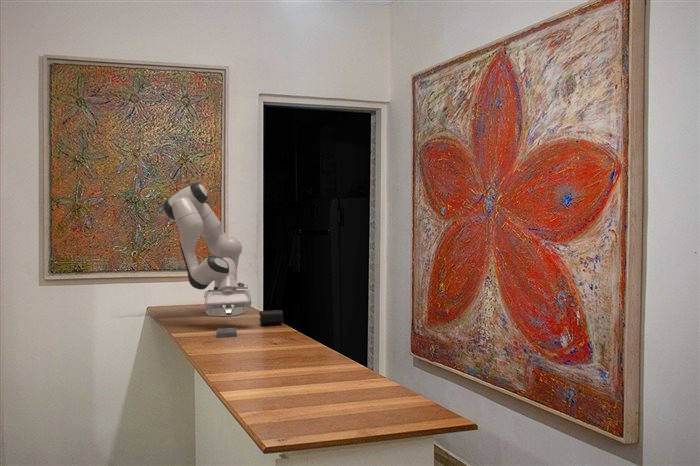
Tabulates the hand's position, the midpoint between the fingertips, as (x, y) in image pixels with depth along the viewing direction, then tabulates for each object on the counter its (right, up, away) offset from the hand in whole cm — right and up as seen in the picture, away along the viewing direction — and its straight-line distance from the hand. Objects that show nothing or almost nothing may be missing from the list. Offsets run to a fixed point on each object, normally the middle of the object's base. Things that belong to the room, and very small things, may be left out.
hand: (228, 314), depth 319 cm
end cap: (+17, -7, +13) cm, 22 cm away
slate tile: (0, -6, -6) cm, 8 cm away
